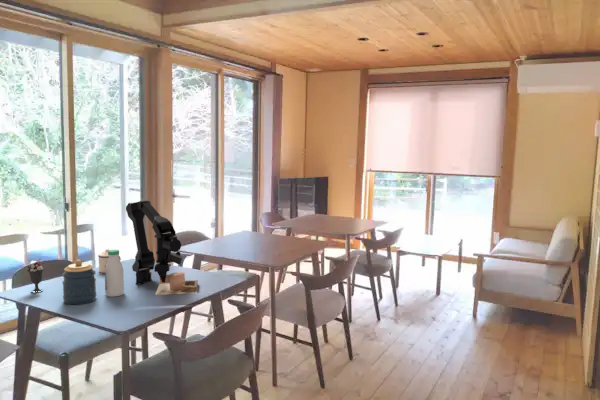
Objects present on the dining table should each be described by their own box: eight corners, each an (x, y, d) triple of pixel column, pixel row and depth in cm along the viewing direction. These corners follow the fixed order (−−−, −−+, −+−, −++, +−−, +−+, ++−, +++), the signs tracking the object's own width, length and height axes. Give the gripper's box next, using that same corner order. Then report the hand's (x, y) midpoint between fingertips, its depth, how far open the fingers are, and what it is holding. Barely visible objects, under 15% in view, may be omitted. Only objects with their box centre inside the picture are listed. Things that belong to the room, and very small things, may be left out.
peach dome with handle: (185, 285, 224) (184, 271, 224) (185, 289, 218) (184, 275, 217) (161, 287, 222) (160, 273, 222) (160, 291, 216) (158, 277, 215)
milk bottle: (127, 292, 216) (126, 249, 213) (116, 298, 209) (114, 253, 206) (113, 290, 218) (112, 247, 216) (101, 295, 211) (100, 251, 209)
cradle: (155, 296, 211) (155, 290, 211) (159, 286, 226) (158, 280, 226) (196, 295, 214) (196, 288, 214) (197, 284, 230) (197, 278, 229)
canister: (75, 307, 196) (73, 265, 194) (56, 301, 203) (55, 260, 201) (103, 298, 207) (101, 259, 205) (84, 293, 214) (83, 254, 212)
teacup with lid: (105, 274, 245) (104, 252, 244) (95, 271, 250) (94, 249, 249) (125, 269, 255) (125, 248, 254) (115, 266, 260) (114, 245, 259)
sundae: (48, 290, 218) (47, 258, 216) (35, 294, 211) (33, 261, 210) (38, 288, 220) (37, 256, 218) (25, 292, 214) (23, 259, 212)
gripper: (180, 252, 209) (180, 287, 211) (182, 243, 228) (182, 275, 229) (154, 253, 207) (154, 288, 209) (158, 244, 225) (158, 276, 227)
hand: (163, 281), depth 219 cm, fingers closed on peach dome with handle
